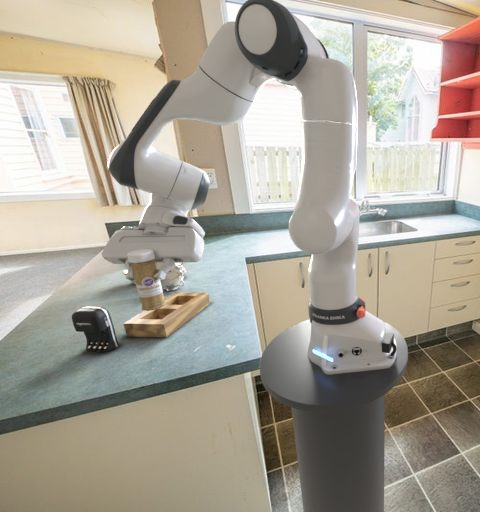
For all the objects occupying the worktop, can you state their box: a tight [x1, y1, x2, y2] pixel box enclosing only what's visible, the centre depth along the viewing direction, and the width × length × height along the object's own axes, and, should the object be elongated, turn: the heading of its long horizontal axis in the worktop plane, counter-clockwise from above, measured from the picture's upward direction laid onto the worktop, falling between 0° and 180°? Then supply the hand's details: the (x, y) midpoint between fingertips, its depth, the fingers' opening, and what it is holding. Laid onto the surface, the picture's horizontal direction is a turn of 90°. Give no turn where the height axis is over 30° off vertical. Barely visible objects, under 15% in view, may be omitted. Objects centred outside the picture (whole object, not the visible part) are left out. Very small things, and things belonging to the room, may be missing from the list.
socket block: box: [123, 291, 211, 338], centre depth 89 cm, size 11×20×4 cm, turn 178°
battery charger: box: [71, 306, 120, 353], centre depth 73 cm, size 7×4×11 cm, turn 87°
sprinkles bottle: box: [127, 249, 166, 311], centre depth 66 cm, size 5×5×14 cm
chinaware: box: [122, 262, 188, 292], centre depth 114 cm, size 28×17×17 cm, turn 76°
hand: (145, 279), depth 66 cm, fingers closed on sprinkles bottle, 4 cm apart
